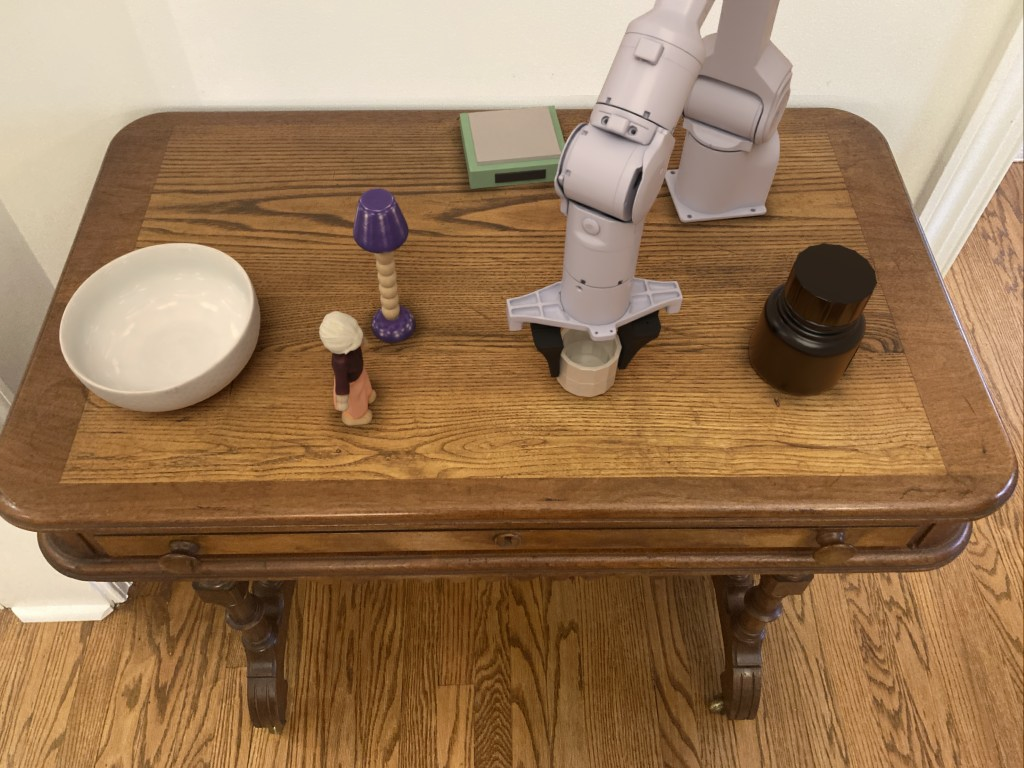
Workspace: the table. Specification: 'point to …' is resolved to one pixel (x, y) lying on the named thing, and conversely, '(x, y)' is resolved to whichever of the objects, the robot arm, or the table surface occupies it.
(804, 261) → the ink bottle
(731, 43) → the robot arm
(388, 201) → the toy lamp
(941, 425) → the table surface
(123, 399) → the cereal bowl
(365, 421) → the grandmother figurine
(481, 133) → the scale
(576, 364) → the white cup
